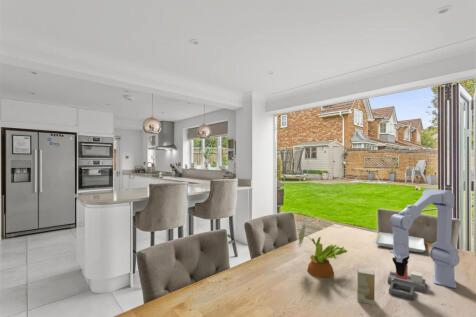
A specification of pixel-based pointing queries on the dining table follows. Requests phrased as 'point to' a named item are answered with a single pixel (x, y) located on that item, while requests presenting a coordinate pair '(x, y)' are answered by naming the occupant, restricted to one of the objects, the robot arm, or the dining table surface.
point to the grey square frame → (400, 293)
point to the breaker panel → (407, 282)
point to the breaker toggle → (416, 277)
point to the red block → (404, 274)
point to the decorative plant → (321, 257)
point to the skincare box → (365, 285)
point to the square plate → (387, 241)
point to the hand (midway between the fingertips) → (401, 273)
